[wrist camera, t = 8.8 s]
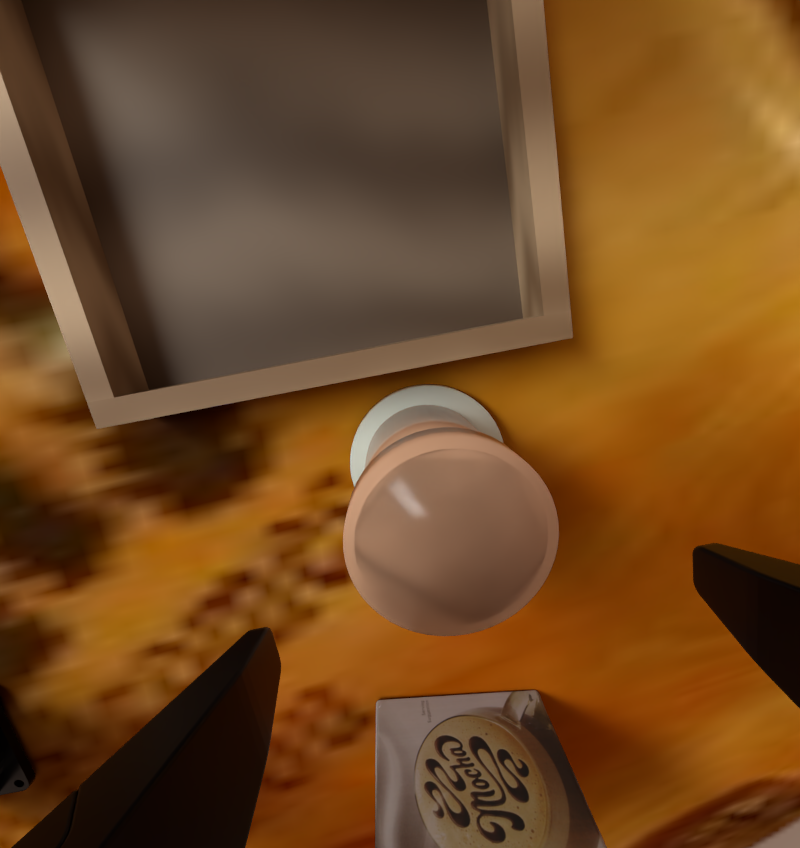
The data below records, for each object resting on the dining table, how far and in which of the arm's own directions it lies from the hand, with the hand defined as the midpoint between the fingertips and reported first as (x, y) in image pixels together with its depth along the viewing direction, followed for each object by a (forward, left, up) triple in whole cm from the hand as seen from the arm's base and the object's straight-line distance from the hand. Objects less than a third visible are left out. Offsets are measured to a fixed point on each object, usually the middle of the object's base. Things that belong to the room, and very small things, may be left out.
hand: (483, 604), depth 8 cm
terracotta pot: (0, 0, -10) cm, 10 cm away
